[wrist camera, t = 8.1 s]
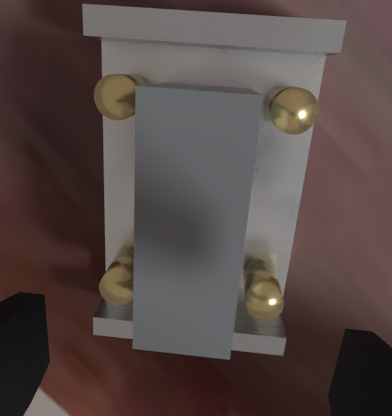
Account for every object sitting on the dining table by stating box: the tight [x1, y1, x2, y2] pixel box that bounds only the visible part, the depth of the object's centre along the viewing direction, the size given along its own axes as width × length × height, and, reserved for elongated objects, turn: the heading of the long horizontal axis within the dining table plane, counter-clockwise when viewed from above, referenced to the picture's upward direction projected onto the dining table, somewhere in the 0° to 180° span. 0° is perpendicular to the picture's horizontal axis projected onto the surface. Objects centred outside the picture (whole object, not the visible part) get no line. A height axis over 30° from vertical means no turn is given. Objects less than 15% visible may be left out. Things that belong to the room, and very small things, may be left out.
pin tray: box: [82, 4, 346, 356], centre depth 16 cm, size 9×14×4 cm, turn 176°
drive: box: [133, 82, 263, 360], centre depth 14 cm, size 4×9×6 cm, turn 176°
